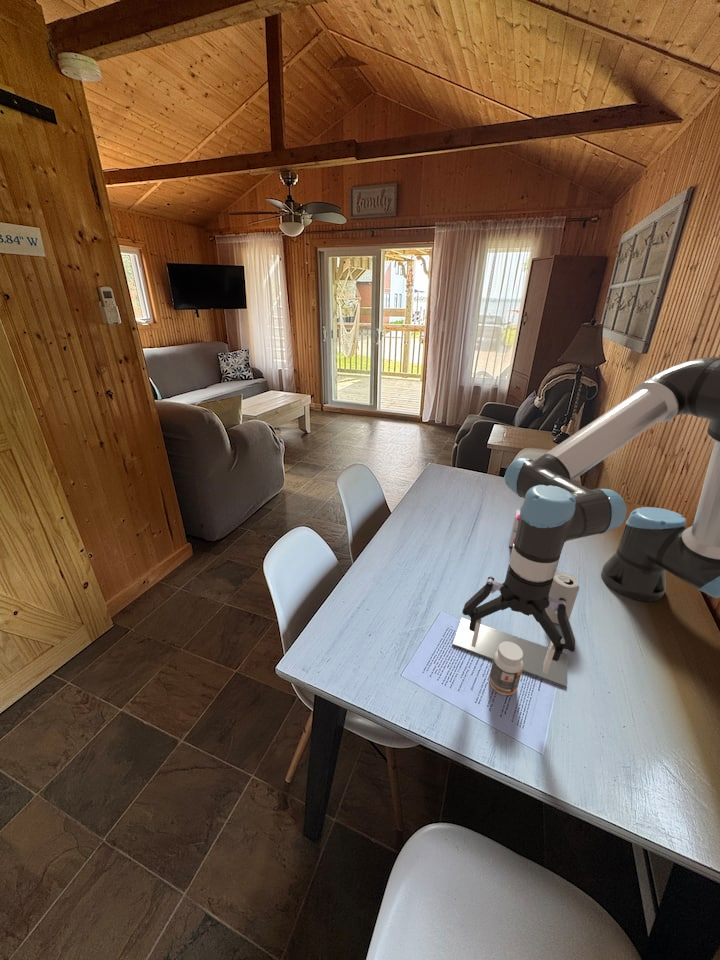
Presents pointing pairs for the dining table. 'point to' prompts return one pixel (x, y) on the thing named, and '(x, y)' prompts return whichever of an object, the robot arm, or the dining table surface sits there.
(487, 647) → the slate board
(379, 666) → the dining table surface
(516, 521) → the supplement box
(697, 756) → the dining table surface
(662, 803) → the dining table surface
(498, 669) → the pill bottle
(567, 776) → the dining table surface
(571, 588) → the beverage can
